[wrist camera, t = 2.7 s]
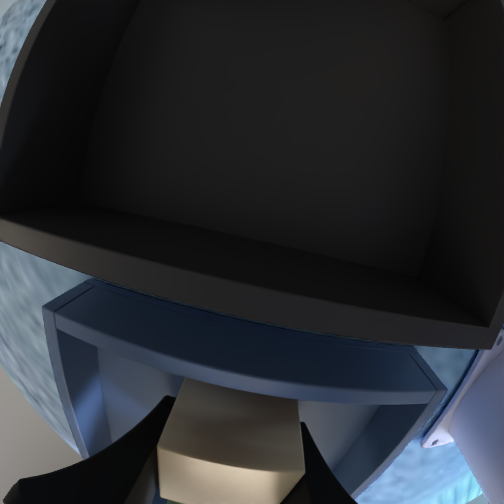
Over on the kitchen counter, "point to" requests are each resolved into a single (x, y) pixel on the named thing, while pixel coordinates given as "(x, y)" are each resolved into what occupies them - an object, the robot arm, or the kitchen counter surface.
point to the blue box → (232, 375)
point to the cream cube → (229, 447)
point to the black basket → (269, 159)
